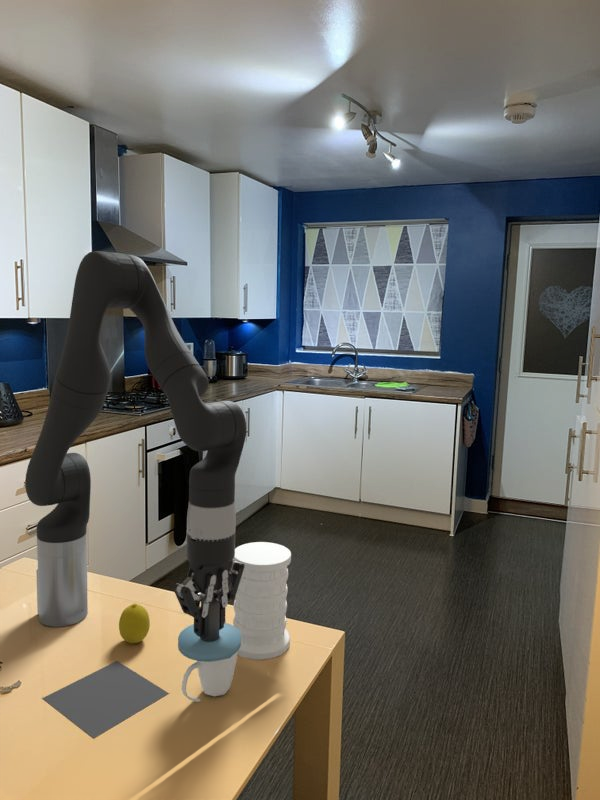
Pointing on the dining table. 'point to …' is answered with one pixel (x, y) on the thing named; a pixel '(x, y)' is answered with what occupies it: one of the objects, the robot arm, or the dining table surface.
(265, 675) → the dining table surface
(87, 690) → the mat
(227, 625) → the lid
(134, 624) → the lemon
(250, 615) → the decorative container
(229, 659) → the cup
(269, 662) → the dining table surface
